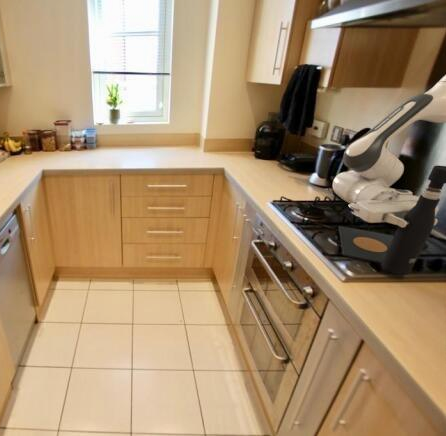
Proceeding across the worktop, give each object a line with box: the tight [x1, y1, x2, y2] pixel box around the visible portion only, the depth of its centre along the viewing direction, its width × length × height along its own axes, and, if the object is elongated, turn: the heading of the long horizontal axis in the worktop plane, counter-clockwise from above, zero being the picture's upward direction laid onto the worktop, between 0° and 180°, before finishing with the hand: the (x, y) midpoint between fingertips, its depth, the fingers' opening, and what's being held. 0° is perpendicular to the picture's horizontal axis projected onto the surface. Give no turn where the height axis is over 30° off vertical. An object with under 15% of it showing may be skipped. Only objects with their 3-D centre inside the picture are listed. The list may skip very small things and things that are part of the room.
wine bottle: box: [380, 165, 446, 276], centre depth 83 cm, size 6×6×30 cm
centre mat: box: [338, 225, 394, 265], centre depth 103 cm, size 16×20×1 cm
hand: (420, 224), depth 82 cm, fingers closed on wine bottle, 6 cm apart
